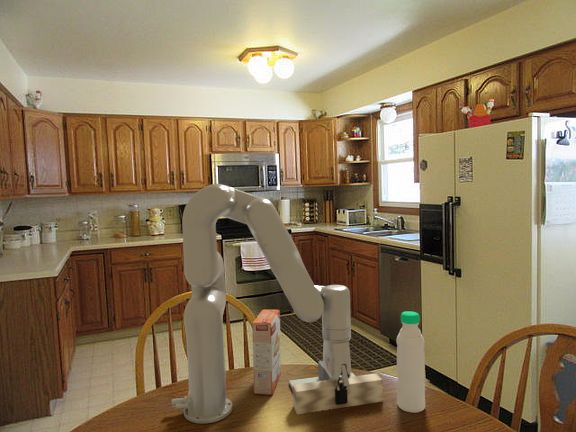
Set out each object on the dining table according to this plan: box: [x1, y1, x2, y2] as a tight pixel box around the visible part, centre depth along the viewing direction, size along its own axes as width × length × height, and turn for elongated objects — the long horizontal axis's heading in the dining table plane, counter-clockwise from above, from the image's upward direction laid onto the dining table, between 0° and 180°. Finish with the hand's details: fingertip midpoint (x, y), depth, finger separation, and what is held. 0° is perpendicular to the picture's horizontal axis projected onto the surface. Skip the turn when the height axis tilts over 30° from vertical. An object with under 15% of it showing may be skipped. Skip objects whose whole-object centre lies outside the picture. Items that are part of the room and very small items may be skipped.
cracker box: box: [251, 309, 282, 396], centre depth 123 cm, size 14×6×21 cm, turn 171°
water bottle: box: [395, 311, 426, 414], centre depth 108 cm, size 7×7×25 cm
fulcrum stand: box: [288, 360, 356, 391], centre depth 123 cm, size 20×6×6 cm, turn 102°
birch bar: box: [292, 372, 384, 415], centre depth 111 cm, size 24×4×6 cm, turn 103°
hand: (338, 398), depth 111 cm, fingers closed on birch bar, 4 cm apart
